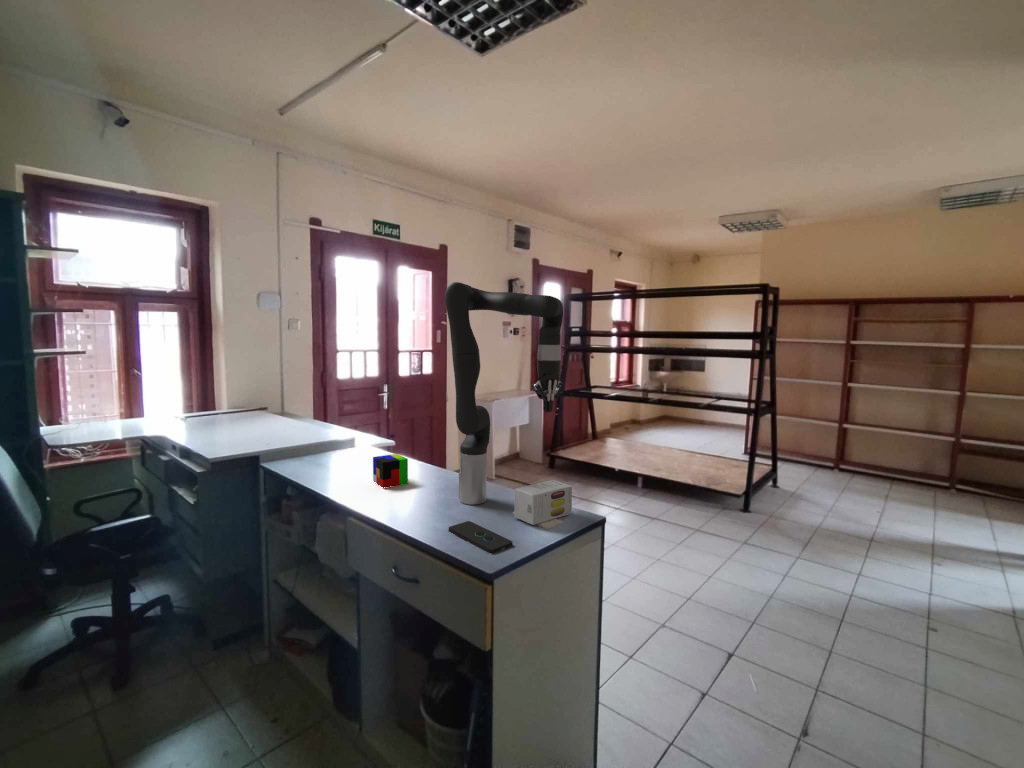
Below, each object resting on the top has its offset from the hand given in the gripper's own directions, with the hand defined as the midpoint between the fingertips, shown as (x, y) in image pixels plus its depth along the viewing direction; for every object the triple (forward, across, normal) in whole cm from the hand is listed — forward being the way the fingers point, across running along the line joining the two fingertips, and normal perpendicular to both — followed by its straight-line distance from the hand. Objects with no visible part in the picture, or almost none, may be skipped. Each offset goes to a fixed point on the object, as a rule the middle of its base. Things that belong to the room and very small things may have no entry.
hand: (547, 411), depth 154 cm
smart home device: (+34, +31, +5) cm, 46 cm away
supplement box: (+28, +14, +4) cm, 31 cm away
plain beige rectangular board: (+33, +8, +4) cm, 34 cm away
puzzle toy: (+33, +28, -58) cm, 73 cm away
